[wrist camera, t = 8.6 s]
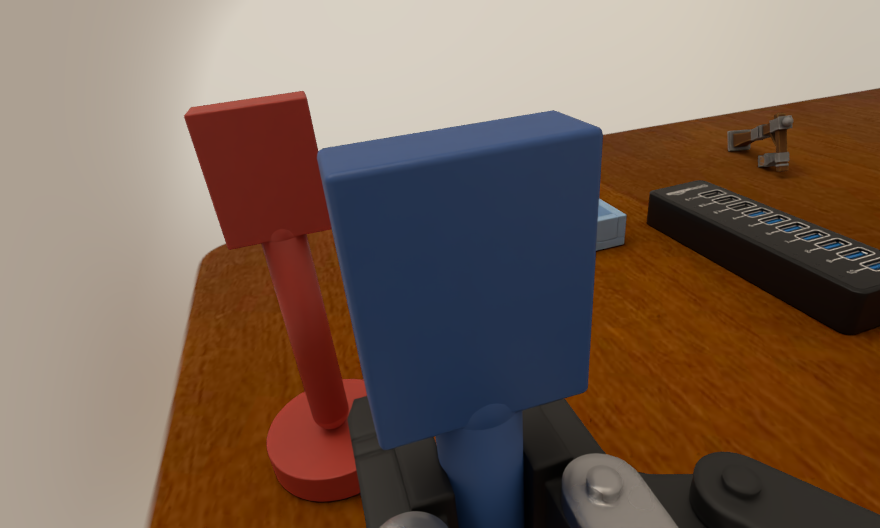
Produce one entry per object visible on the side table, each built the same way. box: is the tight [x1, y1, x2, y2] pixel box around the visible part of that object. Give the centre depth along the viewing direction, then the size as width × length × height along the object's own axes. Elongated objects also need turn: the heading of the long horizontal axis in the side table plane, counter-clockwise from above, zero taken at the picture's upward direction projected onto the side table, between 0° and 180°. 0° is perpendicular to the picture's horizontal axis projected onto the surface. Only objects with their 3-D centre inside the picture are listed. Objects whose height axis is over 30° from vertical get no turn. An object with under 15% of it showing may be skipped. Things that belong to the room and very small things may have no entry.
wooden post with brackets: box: [728, 113, 793, 172], centre depth 43 cm, size 2×8×4 cm, turn 177°
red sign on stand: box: [184, 91, 367, 502], centre depth 17 cm, size 5×5×14 cm
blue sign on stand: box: [317, 110, 603, 528], centre depth 9 cm, size 5×5×14 cm
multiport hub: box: [647, 180, 880, 334], centre depth 29 cm, size 4×14×2 cm, turn 18°
